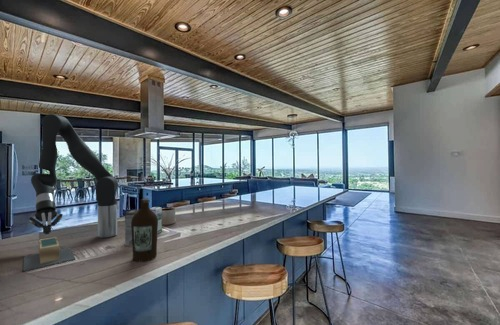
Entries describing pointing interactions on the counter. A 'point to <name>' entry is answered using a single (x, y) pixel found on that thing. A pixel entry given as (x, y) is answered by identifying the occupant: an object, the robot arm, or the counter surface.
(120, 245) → the counter surface
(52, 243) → the oak block
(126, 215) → the coffee box
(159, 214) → the syrup box
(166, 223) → the planter
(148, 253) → the olive oil
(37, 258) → the rubber mat
